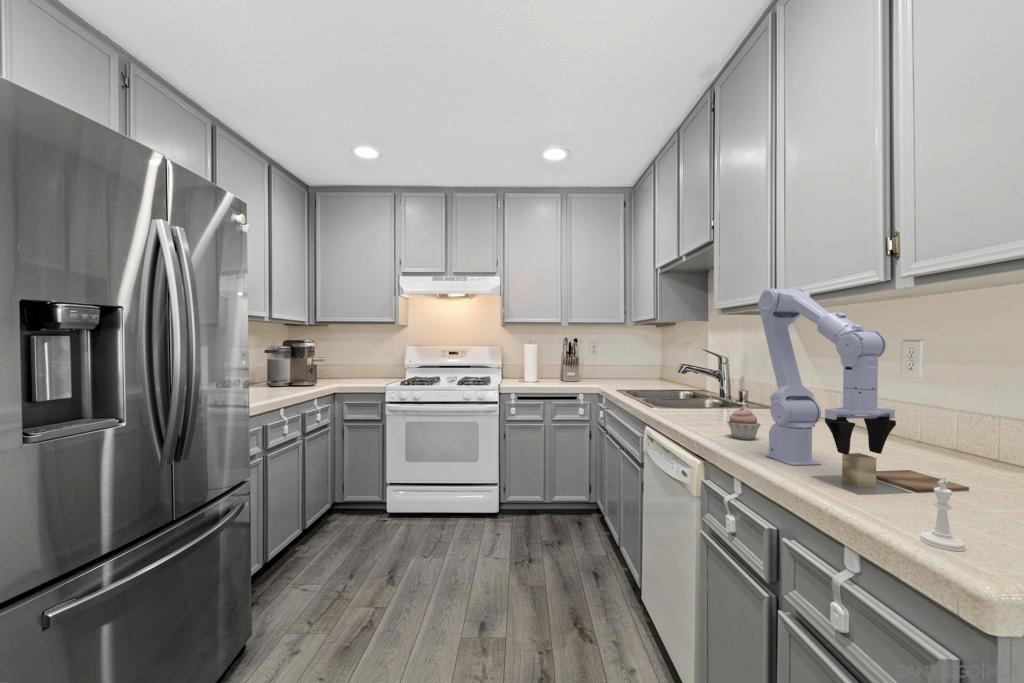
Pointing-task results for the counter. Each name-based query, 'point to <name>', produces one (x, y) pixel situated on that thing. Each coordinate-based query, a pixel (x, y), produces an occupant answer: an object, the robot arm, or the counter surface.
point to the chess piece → (942, 522)
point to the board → (915, 481)
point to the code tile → (879, 489)
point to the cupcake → (743, 424)
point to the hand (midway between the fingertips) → (859, 452)
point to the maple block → (859, 470)
